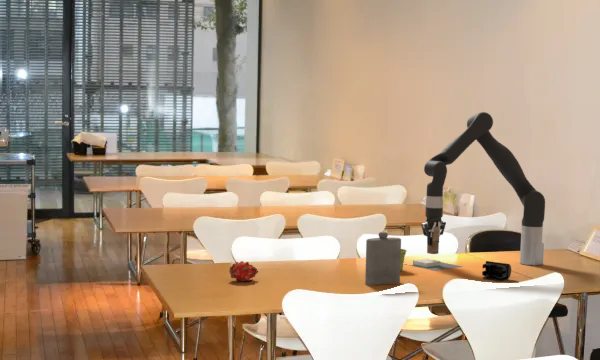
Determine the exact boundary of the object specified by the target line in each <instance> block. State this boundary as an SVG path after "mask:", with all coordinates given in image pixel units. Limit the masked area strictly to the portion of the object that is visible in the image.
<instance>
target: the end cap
mask: <svg viewBox="0 0 600 360" xmlns="http://www.w3.org/2000/svg"><path fill="white" fill-rule="evenodd" d="M482 269H485V270H483V271H481V273H482V274H481V275H482V276H483V277H482V279H483V280H489V281H495V282H496V281H498V282H507V281H508V280H509V279H510V277H511V274H512V266H511V264H509V263H506V262H505V263H503V262H496V261H490V260H489V261H488V260H486V261H485V263H483V264H482Z"/></svg>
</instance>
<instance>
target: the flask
mask: <svg viewBox="0 0 600 360" xmlns="http://www.w3.org/2000/svg"><path fill="white" fill-rule="evenodd" d="M388 235H389V234H388V232H386V231H380V232H379V233H378V237H375V238H374V237H373V238H367V239H366V241H365V242H366V245H365V275H364V276H365V285H367V286H374V287H375V286H380V285H395V284H396V285H398V284H400V282H401V271H400V260H401V249H402V239H401V238H399V237H388Z"/></svg>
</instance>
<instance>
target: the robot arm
mask: <svg viewBox="0 0 600 360" xmlns="http://www.w3.org/2000/svg"><path fill="white" fill-rule="evenodd" d="M493 125H494V119H493V117H492V115H491V114H489V113H488V112H485V111H483V112H478V113H476V114H474V115H472V116H470V117H469V118H468V119H467V122H466V127H467V128H466V129H465V130H464V131H463V132H462V133H461V134H459V135H458V136H457V137H455V138H454V139H453V140H451V142H449V143H448V144H447V145H446V146H445V147H444V148H443V149H442V151H441V152H439V153H437V154H436V155H434V156H433V157H431V158H430V159H428V161H427V162H425V164H424V168H423V171H424V173H425V175H427V176H428V177H432V180H431V182H428V183H427V185H426V199H425V212H424V213H425V215H424V216H425V217H426V219H425V222H422V223H421V225H420V226H421V229H422V234H423V236H425V237H426V241H427V242H426V244H428V246H432V236H433V232H434V230H433V229H434V227H436V226H438V227H439V238H440V237H441V236H443V235H444V232H445V228H446V224H447V222H446V221H444V220H443V221H442V218H443V216H444V197H443V194H444V186H445V182H446V179H447V173H448V168H447V165H451V164H453V163H454V162H456V160H457V159H458V158H459V157H460V156H461V155H462V154H464V152H465V151H466V150H467V148H469V147H470V146H471V145H472V144H473V143H474V142H475V141H477V143H478V144H479V145H480V146H481V147H482V148H483V150H484V151H485V153H486V154H487V155H488V157H489V158H490V160H491V161H492V162H493V164H494V166H495V167H496V168H497V170H498V171H499V173H500V174H501V175H502V177H503V178H504V179H505V180H506V181H507V182H508V183H509V185H510V186H511V187H512V188H513V190H514V191H515V193H516V195H517V197H518V198H519V201H520V202H521V204H522V206H523V216H522V218H521V231H520V233H521V234H520V251H519V252H520V255H519V256H520V257H519V263H520V264H522V265H527V266H541V265H544V254H545V253H544V250H545V244H544V243H543V230H544V229H543V227H544V221H545V214H546V213H545V211H546V210H545V209H546V199H545V196H544V194H542V193H541V192H540V191H538V190H537V189H536V188H535V187H534V186H533V185H532V184H531V183H530V181H529V180H528V179H527V177H526V175H525V173H524V171H523V169H522V166H521V164H520V163H519V161H518V160H517V158H516V156H515V155H514V154H513V152H512V151H511V150H510V149H509V148H508V147H506V146H505V145H504V144H503V143H501V142H499V141H498V140H497V139H496V138H495V137H494V136H493V135H492V133H491V131H490V130H491V129H492V127H493ZM429 229H432V230H429ZM429 232H430V234H429Z"/></svg>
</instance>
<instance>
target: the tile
mask: <svg viewBox="0 0 600 360" xmlns="http://www.w3.org/2000/svg"><path fill="white" fill-rule="evenodd" d="M412 261H413V265H415V266H420V267H425V268H429V267H436V266H440V265H441V262H442V261H440V260H435V259H430V258H423V259H414V260H412Z"/></svg>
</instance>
